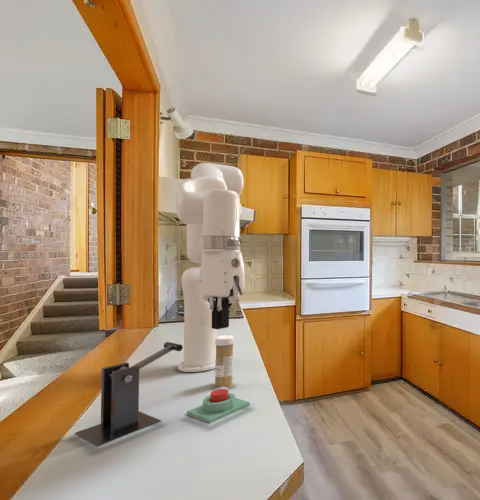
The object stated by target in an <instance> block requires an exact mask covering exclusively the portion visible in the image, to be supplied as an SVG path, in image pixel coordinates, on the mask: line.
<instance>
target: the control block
mask: <svg viewBox="0 0 480 500" xmlns="http://www.w3.org/2000/svg"><path fill="white" fill-rule="evenodd" d="M249 406H251V402H250V401H247V400H245V399H240V398H237V397H236V395H235V393H232V392H228V399H227V400H225V401H221V402H210V395H207V396H206V397H204V398H203V400H202V404H201V405H199V406H196V407H194V408H190V409H189V410H187V411H186V415H187V416H190V417H192V418H196V419H198V420H200V421H202V422H206V423H208V424H212V423H214V422H217V421H219V420H221V419H224V418H225V417H227V416H230V415H233V414H235V413H236V412H238V411H241V410H243V409H245V408H247V407H249Z"/></svg>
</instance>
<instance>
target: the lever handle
mask: <svg viewBox="0 0 480 500" xmlns="http://www.w3.org/2000/svg"><path fill="white" fill-rule="evenodd" d="M183 349H184V345H183V344H179V343H174V342H171V341H166V342H164V343H163V348H162V349H160V350H158V351H156V352H155V353H153V354H151V355H150V356H148V357H146V358H144V359H142V360H141V361H139V362H136V363H135V364H133V365H131V367H133V366H139V370H141V369H142V368H144V367H146V366H148V365H150V364H152V363H153V362H155V361H156V360H158V359H160V358H161V357H163V356H165V355H167V354H169V353H170V352H172V351H174V352H175V351H176V352H181V351H182V350H183ZM125 368H127V367H124V366H123V367H121V368H119V369H117V370H121V369H125ZM115 371H116V370H115ZM108 375H109V378H110V380H111V383H112V373H110V374H108Z"/></svg>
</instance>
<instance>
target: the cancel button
mask: <svg viewBox="0 0 480 500" xmlns="http://www.w3.org/2000/svg"><path fill="white" fill-rule="evenodd" d="M228 393H229V390H228V389H227V388H220V389H219V388H218V389H214V390H212V391H211V392H210V394H209V396H210V402H221V401H225V400H227V399H228Z"/></svg>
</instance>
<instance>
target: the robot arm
mask: <svg viewBox="0 0 480 500" xmlns="http://www.w3.org/2000/svg"><path fill="white" fill-rule="evenodd" d="M244 184H245V179H244V175H243V172H242V170H240V168H238V167H237V166H232V165H227V164H219V163H212V162H211V163H210V162H202V163H197V164H196V165H194V166H193V168H192V169H191V171H190V178H184V179H182V180H180V181H179V183H178V186H177V191H176V194H175V211H176V212H175V213H176V215H177V218H178V220H179V221H180V222H181V223H183V224H186V255H187V259H188V260H189V261H190V262H191V263H195V264H200V266H194V267H189V268H187V269H186V270H184V271H183V273H182V275H181V287H182V295H183V318H184V319H183V361H180V362H179V363H178V365H177V370H178V371H180V372H183V373H198V372H205V371H210V370H215V361H216V345H215V338H216V337H218V330H221V329H226V328H229V327H230V310H231V309H232V306H233V304H235V303H238V302H240V297H241V296H243V295H244V294H245V292H246V291H245V290H246V280H245V267H244V265H245V264H244V259H243V253H242V251H241V246H240V234H241V233H240V228H241V222H240V221H241V220H242V216H243V215H242V214H243V206H242V203H241V198H240V197H241V195H242V192H243V189H244V186H245V185H244Z"/></svg>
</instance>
